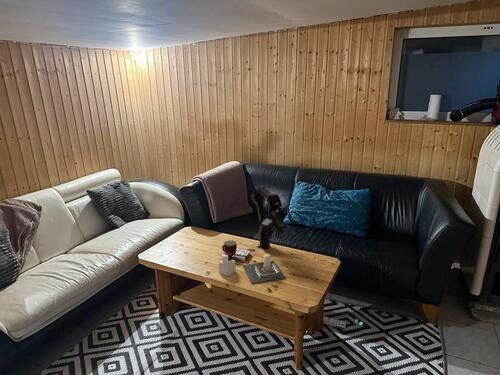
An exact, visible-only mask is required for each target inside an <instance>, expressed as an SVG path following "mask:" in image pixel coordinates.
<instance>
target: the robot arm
mask: <svg viewBox="0 0 500 375" xmlns="http://www.w3.org/2000/svg"><path fill="white" fill-rule="evenodd" d="M250 196H251V197H250V198H251V200H252V201H253V203H254V204H255V206H256V210H257V215H258V220H259V221H258V224H259V225H260V226H259V228H258V229H259V230H258V233H257V234H256V236H257V239H258V240H259V245H258V246H257V248H260V249H263V250H267V249H269V248H271V241H270V240H271V239H272V238H273V230H272V228H273V227H276V233H277V239H278V240H280V238H281V236H282V234H283V232H284V231H286V230H287V229H288V224H285V223H280V221H279V220H282V219H283V218H284V216H285V212H284V210H282V204H283V203H282V200H281V197H280V196H279V194H277V193H272V192H271V191H269V190H267V189H266V187H264V186H261V187H257V188H256V189H255V190H254V191H253V192H252V193H251V195H250ZM264 202H266V203H267V206H268V207H267V209H268V210H267V211H268V215H266V211H265V207H264ZM279 223H280V224H279Z"/></svg>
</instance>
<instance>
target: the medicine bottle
mask: <svg viewBox="0 0 500 375" xmlns="http://www.w3.org/2000/svg"><path fill="white" fill-rule="evenodd" d="M236 266H237V265H236V260H235V259H233V258H232V254H231V253H229V252H223V253H222V254H221V260H220V261H219V262H218V273H219V274H222V275H223V276H226V277H230V276H231V275H232V274H234V273H236V272H237V271H236Z"/></svg>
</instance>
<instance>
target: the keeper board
mask: <svg viewBox="0 0 500 375" xmlns="http://www.w3.org/2000/svg"><path fill="white" fill-rule="evenodd" d="M242 267H243V270H244V272H245V274H246V275H247V276H246V277H247V278H248V279H249V283H250V284H251V285H255V284H260V283H266V282H274V281H278V280H279V281H280V280H286V278H287V277H286V275H285V273H284V272H283V271H282V270H281V268H280V267H279V266H278V264H277V263H276V262H275V260H271V268H273V273H268V274H264V273H262V272H261V269H262V268H263V267H264V261H261V262H255V263H247V264H242Z"/></svg>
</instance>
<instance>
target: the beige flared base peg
mask: <svg viewBox="0 0 500 375" xmlns="http://www.w3.org/2000/svg"><path fill="white" fill-rule="evenodd" d="M271 258H272V257H271V254H269V253H265V254H263V262H264V267H263V268H262V269H261V272H262V273H264V274H268V273H273V268H271V261H272V260H271Z"/></svg>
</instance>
